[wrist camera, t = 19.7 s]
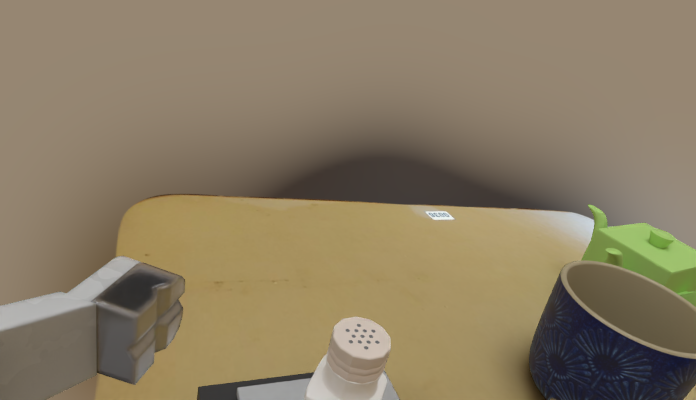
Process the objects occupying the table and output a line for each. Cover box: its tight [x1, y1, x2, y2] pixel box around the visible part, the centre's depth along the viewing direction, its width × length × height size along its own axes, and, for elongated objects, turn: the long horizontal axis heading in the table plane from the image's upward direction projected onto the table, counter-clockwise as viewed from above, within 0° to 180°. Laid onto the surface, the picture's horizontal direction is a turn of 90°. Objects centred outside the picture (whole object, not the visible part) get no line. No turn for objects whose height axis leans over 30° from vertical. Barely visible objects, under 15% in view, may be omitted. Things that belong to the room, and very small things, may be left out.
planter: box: [529, 261, 696, 400], centre depth 42 cm, size 12×12×11 cm
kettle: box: [581, 205, 696, 307], centre depth 57 cm, size 15×14×11 cm
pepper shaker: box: [304, 317, 391, 400], centre depth 27 cm, size 4×4×10 cm
